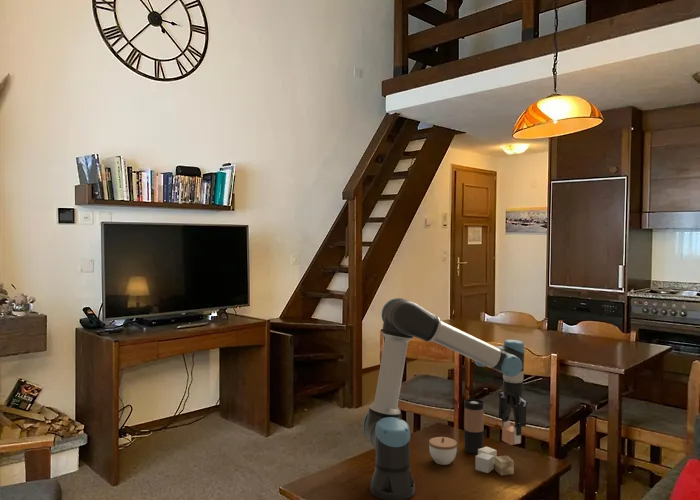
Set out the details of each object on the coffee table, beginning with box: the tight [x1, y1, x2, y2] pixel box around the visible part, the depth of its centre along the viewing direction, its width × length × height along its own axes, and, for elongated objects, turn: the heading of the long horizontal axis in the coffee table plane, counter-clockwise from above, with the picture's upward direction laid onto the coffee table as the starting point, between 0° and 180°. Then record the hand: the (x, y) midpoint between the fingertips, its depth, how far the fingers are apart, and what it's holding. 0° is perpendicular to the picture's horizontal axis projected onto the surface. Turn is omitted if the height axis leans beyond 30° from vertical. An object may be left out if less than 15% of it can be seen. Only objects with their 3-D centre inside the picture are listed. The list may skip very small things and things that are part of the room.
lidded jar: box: [428, 436, 458, 466], centre depth 212 cm, size 11×11×9 cm
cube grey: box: [474, 453, 495, 474], centre depth 205 cm, size 5×5×5 cm
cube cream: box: [477, 446, 498, 465], centre depth 211 cm, size 5×5×5 cm
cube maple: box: [494, 455, 515, 476], centre depth 203 cm, size 5×5×5 cm
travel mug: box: [463, 398, 485, 454], centre depth 223 cm, size 8×8×20 cm
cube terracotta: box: [501, 425, 522, 446], centre depth 211 cm, size 5×5×5 cm
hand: (511, 440), depth 211 cm, fingers closed on cube terracotta, 5 cm apart
